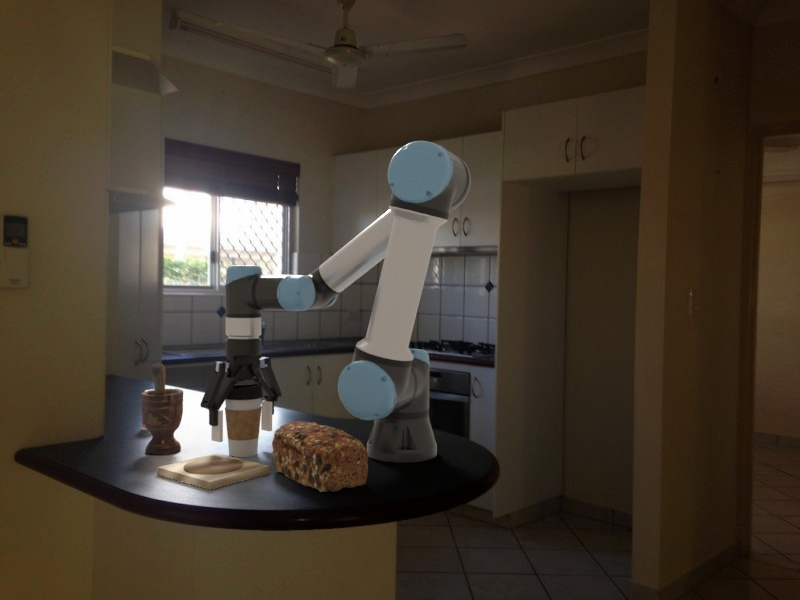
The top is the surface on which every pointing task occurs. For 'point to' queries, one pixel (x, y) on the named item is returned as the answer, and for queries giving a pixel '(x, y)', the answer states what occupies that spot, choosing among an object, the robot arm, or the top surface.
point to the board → (213, 470)
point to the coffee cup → (243, 419)
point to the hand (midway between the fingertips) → (242, 435)
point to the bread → (319, 456)
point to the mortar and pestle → (162, 413)
